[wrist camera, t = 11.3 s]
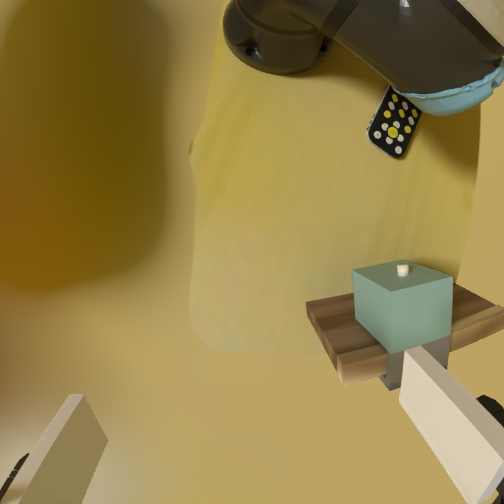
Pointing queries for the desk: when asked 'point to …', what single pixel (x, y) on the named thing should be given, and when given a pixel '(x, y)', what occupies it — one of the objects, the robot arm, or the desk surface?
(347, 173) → the desk surface
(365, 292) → the cabinet
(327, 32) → the robot arm
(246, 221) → the desk surface
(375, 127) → the remote control
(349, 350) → the wall board
